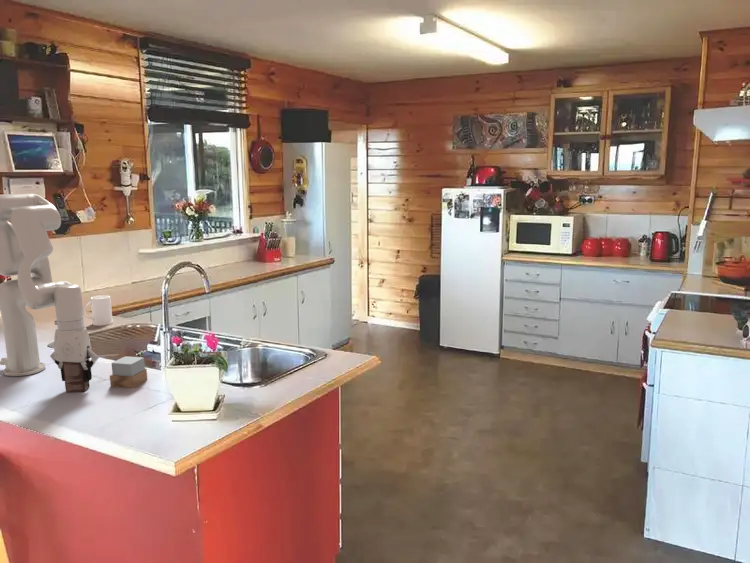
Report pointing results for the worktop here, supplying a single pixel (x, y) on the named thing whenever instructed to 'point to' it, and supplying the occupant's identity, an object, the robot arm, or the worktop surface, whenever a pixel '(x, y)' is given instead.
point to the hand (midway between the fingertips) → (76, 379)
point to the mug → (100, 310)
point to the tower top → (128, 366)
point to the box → (74, 377)
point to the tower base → (128, 380)
